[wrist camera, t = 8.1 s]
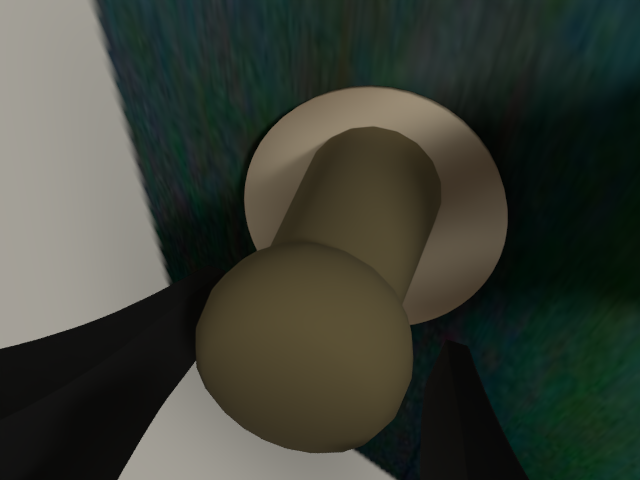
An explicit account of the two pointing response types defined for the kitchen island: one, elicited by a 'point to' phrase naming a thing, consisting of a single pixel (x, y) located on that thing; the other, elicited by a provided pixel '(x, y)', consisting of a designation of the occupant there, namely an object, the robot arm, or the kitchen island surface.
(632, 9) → the kitchen island surface
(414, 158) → the pepper shaker
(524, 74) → the kitchen island surface
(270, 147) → the cork trivet
